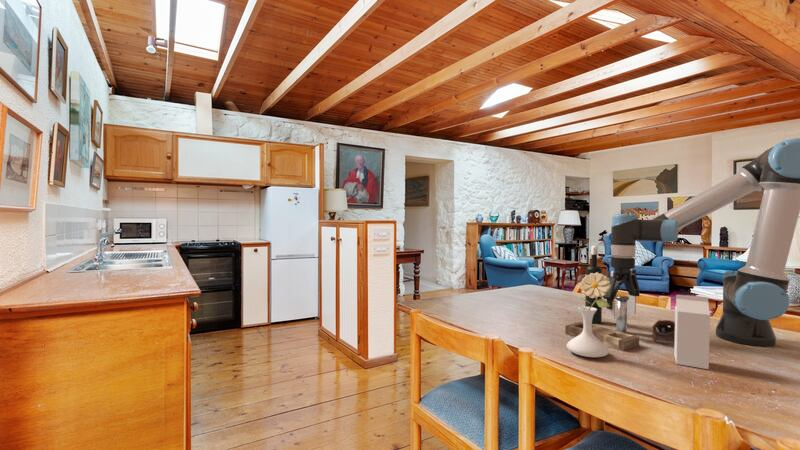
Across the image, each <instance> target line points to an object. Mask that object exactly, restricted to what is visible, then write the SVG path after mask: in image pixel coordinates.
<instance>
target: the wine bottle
mask: <svg viewBox="0 0 800 450" xmlns="http://www.w3.org/2000/svg"><path fill="white" fill-rule="evenodd" d="M590 247H591V248H590V251H591V253H590V254H591V258H590V259H591V261H590V263H591V265H587V266H586V268H585V275H590V273H593V274H594V273H596V272H598V273H599V274H603V268H602V267H601V266H599V265H598V245H591V246H590ZM584 297H585V298H584V299H585V300H587V301H588V302H589V303H588V302H586V301H585V300H584V302H585V307H590V306H591V305H592V304H593V303H594V301H595V300H596V298H590V297H589V296H586V295H585V296H584ZM599 299H603V296H602V297H598V298H597V300H599ZM592 307H593V308H596V309H597V311H596V312H595V313H594V315H593V319H592V325H600V324H602V319H603V318H602V315H603V314H602V313H603V311H602V309H603V307H599V306H598V305H597V303H596V302H595V303H594V305H593V306H592Z"/></svg>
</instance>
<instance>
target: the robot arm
mask: <svg viewBox="0 0 800 450" xmlns="http://www.w3.org/2000/svg"><path fill="white" fill-rule="evenodd" d="M762 191H763V194H762V198H761V202H760V207H759V211H758V214H757V218H756V223H755V227H754V231H753V234H752V239H751V242H750V243H751V244H750V247H749V251H748V254H747V255H748V256H747V260H746V263H745V265H744V266H742V267H741V268H738V269H737V270H726V271H725V272H724V273H723V277H722V281H723V282H722V283H723V284H722V286H723V287H722V314H721V316H720V318H719V321H717V325H716V327H715V335H716V336H717V337H718V338H720V339H723V340H725V341H729V342H733V343H738V344H743V345H750V346H759V347H771V346H775V345H777V338H776V335H775V332H774V329H773V327H772V324H771V322H770V320H774V319H777V318H780V317H781V316H783V315H784V314H785V313H787V311H788V309H789V307H790V298H789V295H788V293H787V291H788V289H789V283H790V277H788V276H787V275H786V273H785V271H786V266H787V263H788V258H789V254H790V250H791V247H792V243H793V238H794V235H795V231H796V227H797V223H798V219H799V215H800V137H799V138H791V139H785V140H783V141H780V142H779V143H776V144H775V145H774V146H771V147H770V148H767V150H764V151H763V152H762V153H761V154H759V156H757V157H756V158H754V159H752V160H751V161H750V162H748V163H746V164H745V165H743V166H741V167H739V169H738V171H737V173H735V174H734V175H731V176H730V177H728V178H725V179H724V180H722V181H720V182H719V183H717V184H715V185H713V186H711V187H709V188H707V189H705V190H703V191H702V192H699V193H698V194H697V195H695V196H692V197H691V198H689V199H688V200H687V199H686V200H685V201H683V202H681V203H680V204H678V205H675V206H674V207H672V208H671V209H669V210H667V211H665V212H663V213H662V214H659V215H658V216H656V217H654V218H653V219H639V218H637V214H636V213H614V214H613V215H612V218H611V230H610V231H611V241H610V243H611V245H610V250H611V251H610V255H611V257H610V267H611V268H613V269H614V270H613V271H612V270H609V271H608V274H607V275H608V276H607V278H609V280H608V281H610V283H609V284H610V285H611V287H610V289H609V291H608V292H606V294H605V295H604V296H602V299H605V300H606V301H607V303H608V304H609V305H610V307H605V308H606V311H605V316H606V318H607V319H610V320H615V319H616V307H617V299H616V298H615V296H617V294H618V291H619V289H620V287H621V286H623V285H624V287H625V289H626V291H627V293H628V294H627V295H626V296H628V297H629V300H627V314H632V315H636V314H637V313H636V309H637V297H640V293H641V290H640V287H639V282H638V279H637V270H636V269H635V268H636V259H635V258H634V257H636V241H638V242H639V241H640V242H644V241H645V242H662V243H672V242H673V243H675V242H677V241H678V238H679V230H681V229H683V228H684V227H687V226H688V225H690V224H692V223H695V222H696V221H698V220H700V219H702V218H703V217H706V216H707V215H710V214H712V213H713V212H715V211H718V210H720V209H722V208H724V207H725V206H728V205H730V204H732V203H733V202H735V201H738V200H739V199H742V198H743V197H745V196H748V195H749V194H751V193H754V192H762ZM615 299H616V300H615Z"/></svg>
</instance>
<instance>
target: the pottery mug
mask: <svg viewBox="0 0 800 450" xmlns="http://www.w3.org/2000/svg"><path fill="white" fill-rule="evenodd" d="M656 329H657V330H656ZM652 341H653V342H654V343H657V341H658V342H669V341H675V321H673V320H668V319H666V320H665V319H664V320H663V319H662V320H661V319H659V320H657V321H656V322H655V323H654V324H653V325H652Z"/></svg>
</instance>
